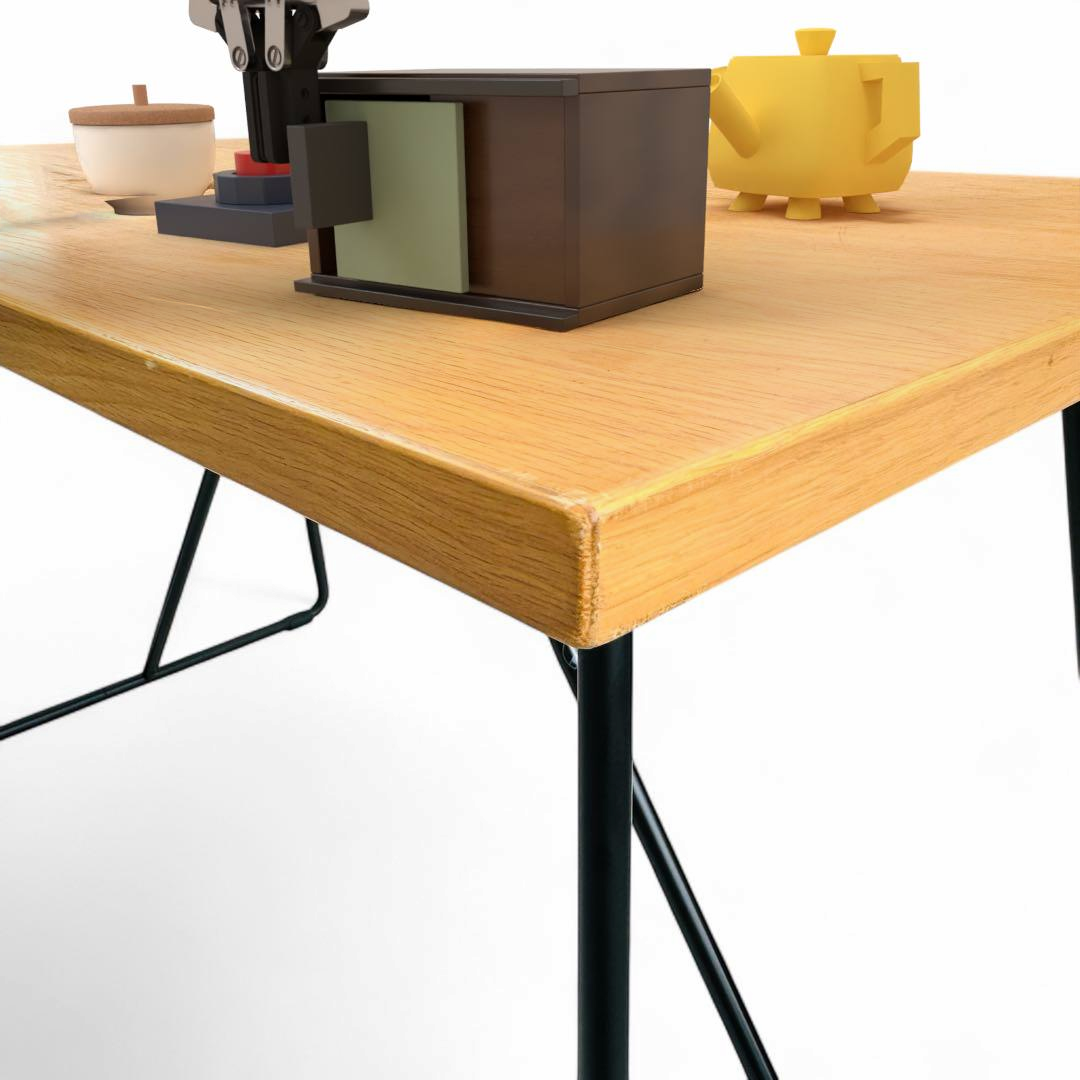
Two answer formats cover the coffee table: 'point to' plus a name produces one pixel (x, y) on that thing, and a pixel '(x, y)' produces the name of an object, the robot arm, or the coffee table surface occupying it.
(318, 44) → the robot arm
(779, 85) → the teapot
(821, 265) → the coffee table surface
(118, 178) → the trinket box
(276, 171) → the button
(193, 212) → the control block
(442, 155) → the sliding door
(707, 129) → the cupboard
